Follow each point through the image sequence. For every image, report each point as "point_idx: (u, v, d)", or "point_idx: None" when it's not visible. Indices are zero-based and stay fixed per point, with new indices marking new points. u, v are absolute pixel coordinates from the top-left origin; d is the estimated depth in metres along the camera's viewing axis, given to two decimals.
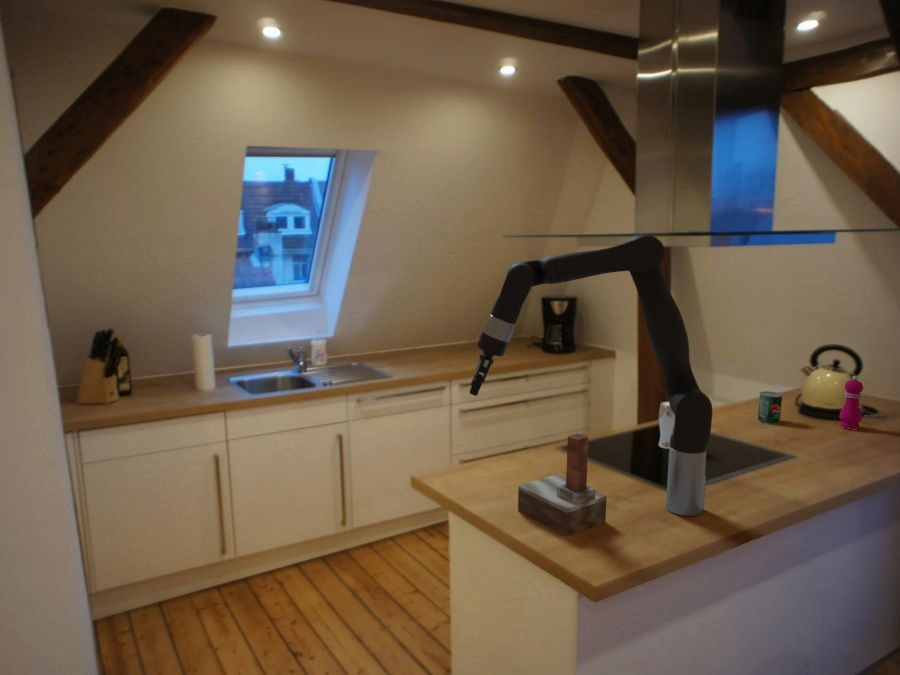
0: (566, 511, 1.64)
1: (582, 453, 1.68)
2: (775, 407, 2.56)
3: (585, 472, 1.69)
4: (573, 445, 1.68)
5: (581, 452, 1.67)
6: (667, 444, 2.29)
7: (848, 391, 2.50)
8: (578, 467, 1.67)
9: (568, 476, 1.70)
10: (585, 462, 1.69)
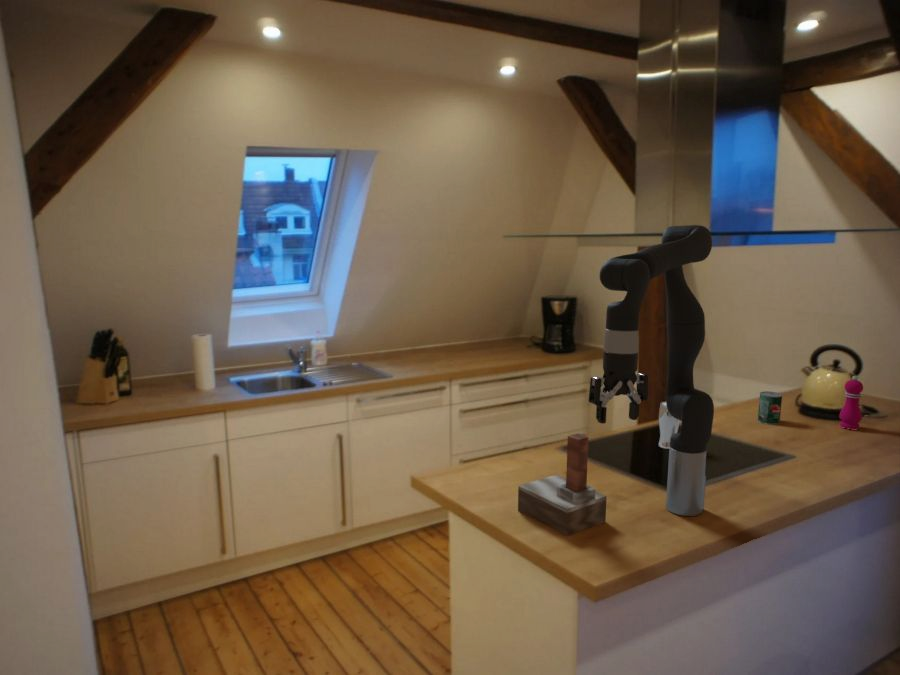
0: (566, 511, 1.64)
1: (582, 453, 1.68)
2: (775, 407, 2.56)
3: (585, 472, 1.69)
4: (573, 445, 1.68)
5: (581, 452, 1.67)
6: (667, 444, 2.29)
7: (848, 391, 2.50)
8: (578, 467, 1.67)
9: (568, 476, 1.70)
10: (585, 462, 1.69)
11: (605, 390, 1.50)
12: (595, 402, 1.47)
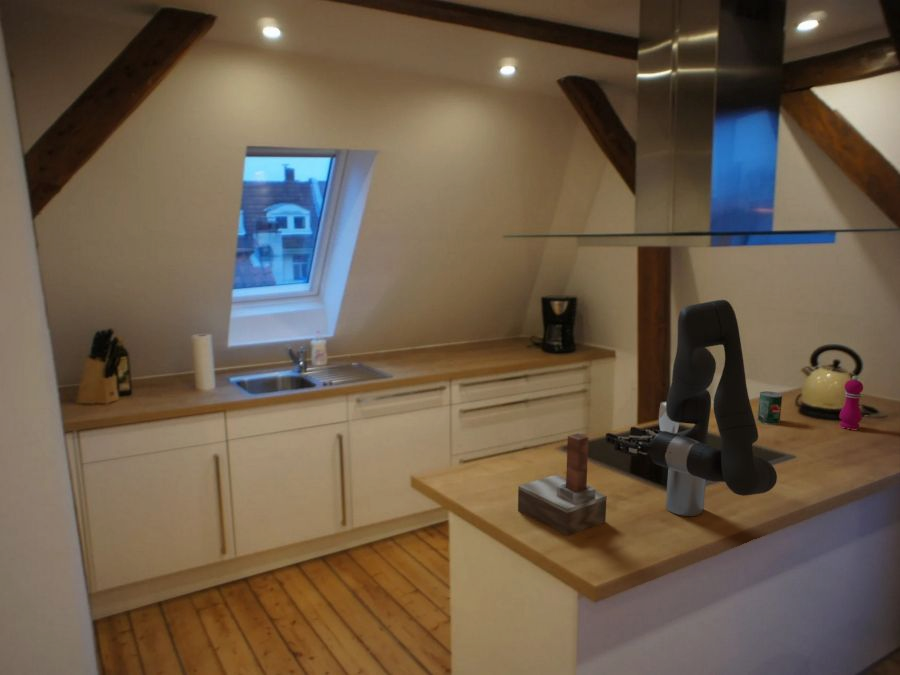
0: (566, 511, 1.64)
1: (582, 453, 1.68)
2: (775, 407, 2.56)
3: (585, 472, 1.69)
4: (573, 445, 1.68)
5: (581, 452, 1.67)
6: None
7: (848, 391, 2.50)
8: (578, 467, 1.67)
9: (568, 476, 1.70)
10: (585, 462, 1.69)
11: None
12: (615, 450, 1.50)
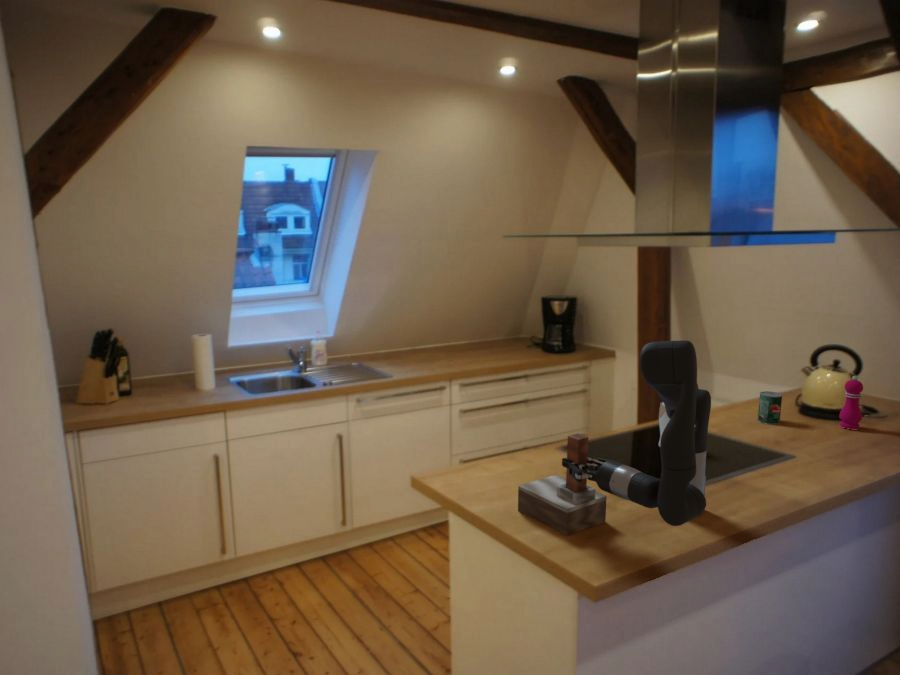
0: (566, 511, 1.64)
1: (582, 453, 1.68)
2: (775, 407, 2.56)
3: None
4: (573, 445, 1.68)
5: (581, 452, 1.67)
6: None
7: (848, 391, 2.50)
8: (578, 467, 1.67)
9: (568, 476, 1.70)
10: (585, 462, 1.69)
11: None
12: None
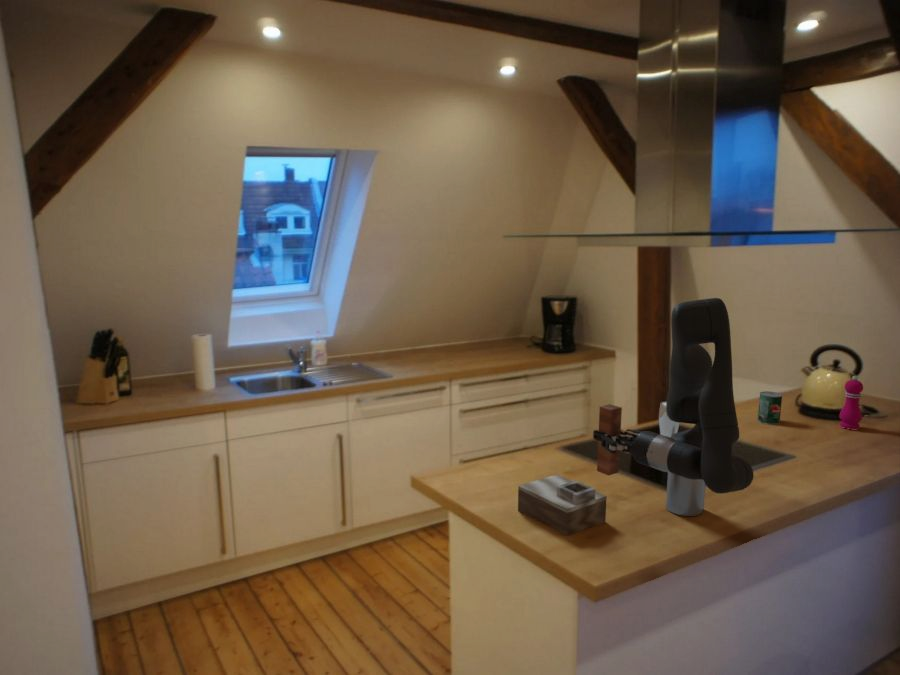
0: (566, 511, 1.64)
1: (615, 425, 1.58)
2: (775, 407, 2.56)
3: None
4: (605, 416, 1.58)
5: (614, 423, 1.58)
6: None
7: (848, 391, 2.50)
8: None
9: (600, 449, 1.60)
10: None
11: None
12: None
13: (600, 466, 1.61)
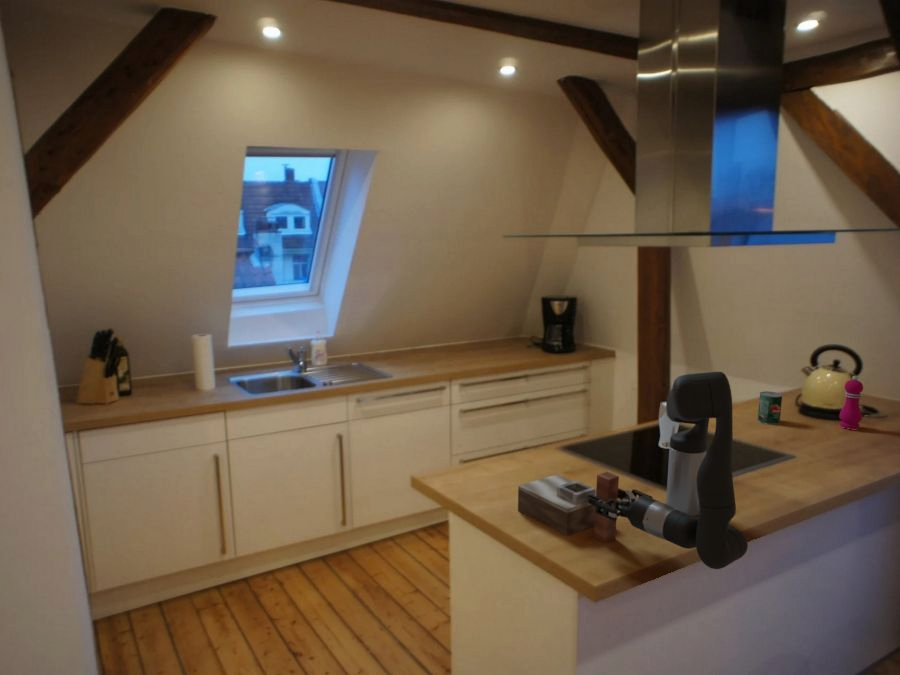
0: (566, 511, 1.64)
1: (612, 493, 1.61)
2: (775, 407, 2.56)
3: None
4: (603, 485, 1.61)
5: (611, 492, 1.60)
6: (667, 444, 2.29)
7: (848, 391, 2.50)
8: None
9: (597, 516, 1.63)
10: None
11: None
12: (596, 512, 1.56)
13: (597, 532, 1.64)
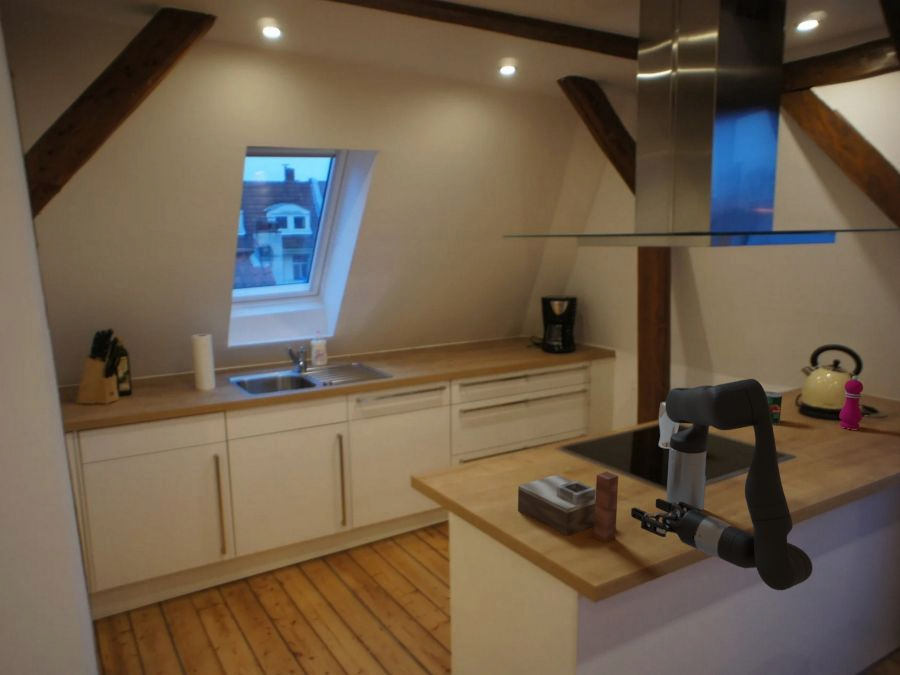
0: (566, 511, 1.64)
1: (612, 493, 1.61)
2: (775, 407, 2.56)
3: (615, 512, 1.63)
4: (602, 485, 1.61)
5: (611, 492, 1.61)
6: (667, 444, 2.29)
7: (848, 391, 2.50)
8: (607, 507, 1.61)
9: (597, 516, 1.63)
10: (615, 502, 1.62)
11: None
12: None
13: (597, 532, 1.64)
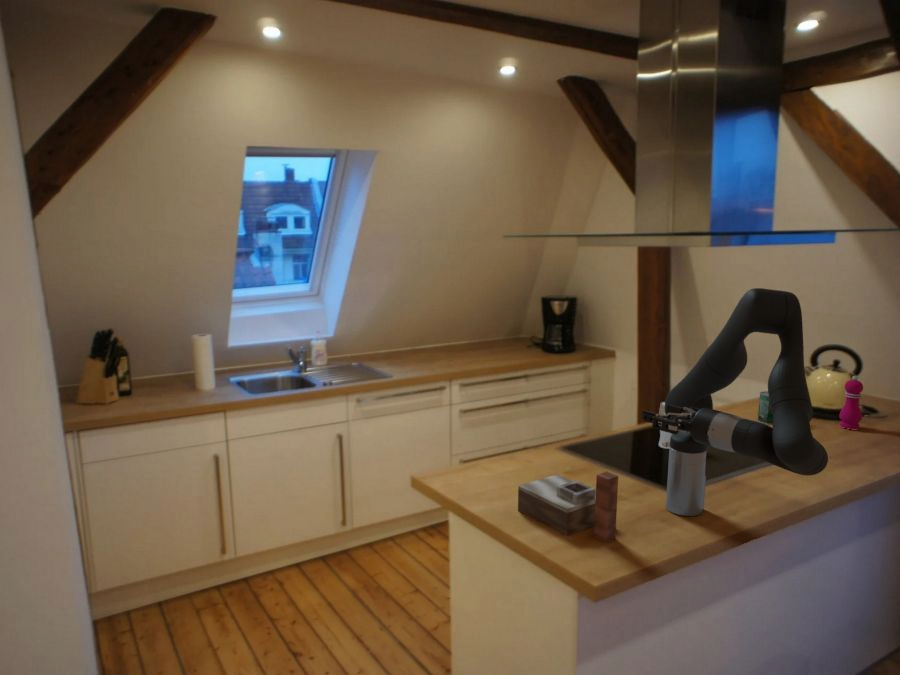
0: (566, 511, 1.64)
1: (612, 493, 1.61)
2: None
3: (615, 512, 1.63)
4: (602, 485, 1.61)
5: (611, 492, 1.61)
6: (667, 444, 2.29)
7: (848, 391, 2.50)
8: (607, 507, 1.61)
9: (597, 516, 1.63)
10: (615, 502, 1.62)
11: None
12: (653, 427, 1.43)
13: (597, 532, 1.64)
